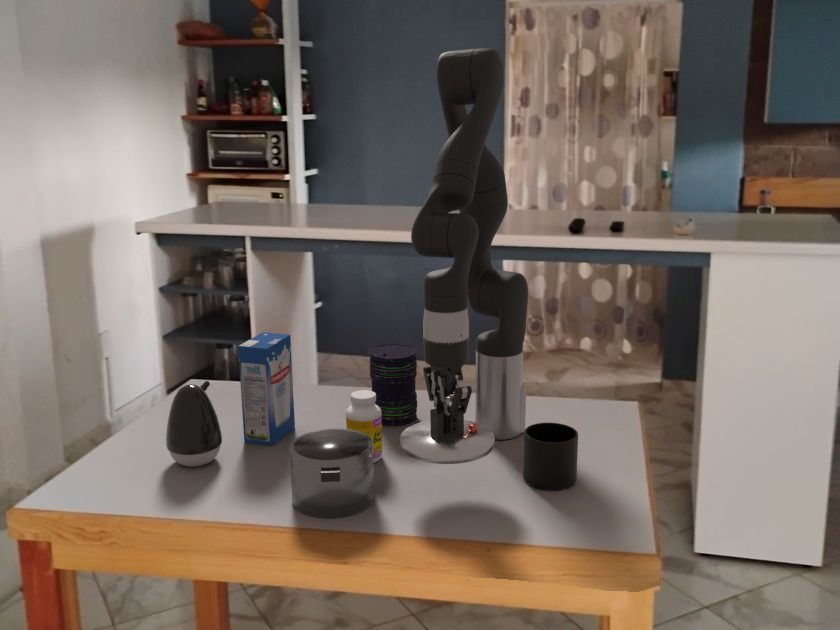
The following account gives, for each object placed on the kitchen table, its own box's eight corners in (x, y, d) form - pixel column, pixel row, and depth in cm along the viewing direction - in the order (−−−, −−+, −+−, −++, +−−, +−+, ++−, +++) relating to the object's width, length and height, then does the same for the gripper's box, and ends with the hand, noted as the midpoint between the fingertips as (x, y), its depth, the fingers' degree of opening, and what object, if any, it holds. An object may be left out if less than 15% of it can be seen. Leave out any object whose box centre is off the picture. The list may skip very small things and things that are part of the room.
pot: (295, 477, 160) (292, 425, 157) (373, 474, 161) (371, 422, 158) (288, 525, 143) (285, 468, 140) (375, 521, 144) (374, 464, 141)
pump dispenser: (235, 455, 170) (230, 379, 166) (200, 476, 161) (194, 397, 157) (192, 446, 174) (186, 372, 170) (156, 467, 165) (149, 390, 161)
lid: (466, 418, 161) (466, 386, 159) (512, 451, 147) (512, 417, 145) (385, 435, 154) (384, 402, 153) (425, 471, 140) (424, 435, 139)
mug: (576, 464, 164) (578, 418, 162) (576, 493, 153) (578, 444, 151) (525, 460, 166) (526, 415, 164) (521, 489, 155) (522, 441, 152)
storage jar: (390, 406, 194) (388, 341, 190) (426, 416, 188) (426, 348, 184) (361, 420, 186) (359, 352, 182) (398, 431, 180) (397, 361, 176)
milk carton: (272, 446, 173) (266, 348, 168) (244, 442, 175) (237, 345, 170) (295, 427, 183) (290, 334, 177) (268, 424, 185) (262, 331, 179)
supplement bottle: (377, 467, 164) (376, 401, 161) (343, 464, 165) (340, 399, 162) (386, 452, 170) (384, 389, 167) (352, 449, 172) (350, 387, 168)
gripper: (487, 342, 141) (487, 442, 146) (447, 320, 153) (448, 413, 158) (445, 349, 138) (446, 451, 143) (407, 326, 150) (409, 421, 155)
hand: (447, 431), depth 150 cm, fingers closed on lid, 2 cm apart
